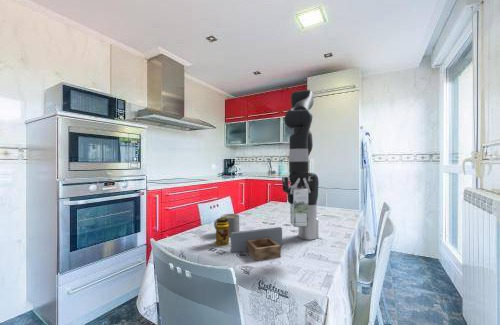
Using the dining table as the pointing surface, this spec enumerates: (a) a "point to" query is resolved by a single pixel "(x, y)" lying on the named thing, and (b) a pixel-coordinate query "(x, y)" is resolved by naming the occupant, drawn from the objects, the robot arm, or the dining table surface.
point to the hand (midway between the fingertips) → (298, 202)
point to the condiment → (222, 233)
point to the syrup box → (299, 208)
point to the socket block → (263, 249)
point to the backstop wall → (254, 237)
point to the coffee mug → (231, 222)
